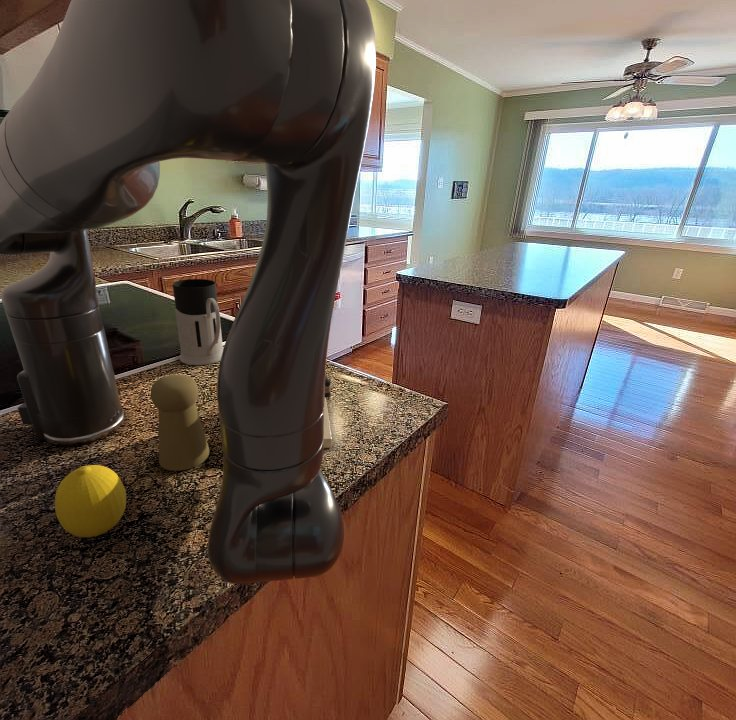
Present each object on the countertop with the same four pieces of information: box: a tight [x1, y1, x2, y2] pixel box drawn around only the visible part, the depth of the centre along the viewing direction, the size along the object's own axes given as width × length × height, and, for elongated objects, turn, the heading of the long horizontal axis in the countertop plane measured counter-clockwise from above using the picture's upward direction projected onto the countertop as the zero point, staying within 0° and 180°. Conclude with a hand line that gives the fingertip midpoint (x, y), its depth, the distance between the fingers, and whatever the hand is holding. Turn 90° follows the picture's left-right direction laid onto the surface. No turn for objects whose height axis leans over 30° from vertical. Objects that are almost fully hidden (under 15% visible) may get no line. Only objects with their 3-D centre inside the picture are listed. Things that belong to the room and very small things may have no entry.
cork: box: [150, 374, 211, 472], centre depth 49 cm, size 6×6×11 cm
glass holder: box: [172, 278, 224, 366], centre depth 76 cm, size 9×14×15 cm, turn 42°
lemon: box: [54, 464, 127, 538], centre depth 38 cm, size 6×6×8 cm
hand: (287, 363), depth 63 cm, fingers closed
